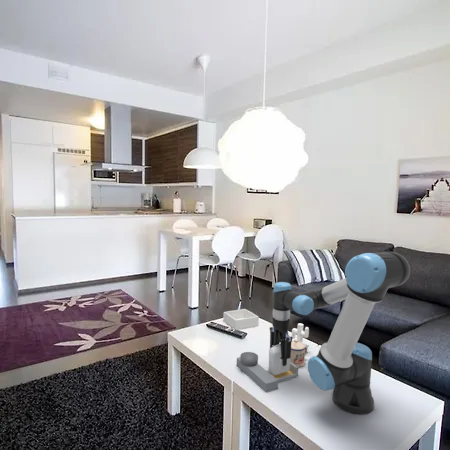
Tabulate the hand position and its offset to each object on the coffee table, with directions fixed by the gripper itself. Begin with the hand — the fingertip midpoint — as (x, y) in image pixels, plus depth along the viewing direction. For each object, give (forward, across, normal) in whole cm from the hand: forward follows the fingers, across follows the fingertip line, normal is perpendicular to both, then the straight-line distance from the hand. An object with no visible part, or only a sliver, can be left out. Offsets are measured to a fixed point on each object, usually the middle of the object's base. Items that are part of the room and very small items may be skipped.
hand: (279, 369), depth 147 cm
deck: (+3, +4, +3) cm, 6 cm away
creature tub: (+3, +60, -16) cm, 62 cm away
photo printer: (+1, 0, 0) cm, 1 cm away
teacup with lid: (+3, +6, -16) cm, 17 cm away
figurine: (+3, +14, -24) cm, 28 cm away
